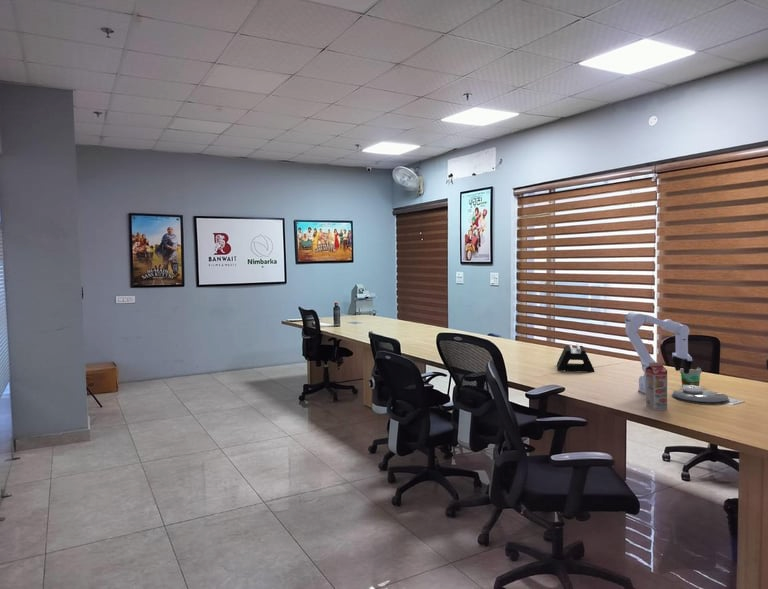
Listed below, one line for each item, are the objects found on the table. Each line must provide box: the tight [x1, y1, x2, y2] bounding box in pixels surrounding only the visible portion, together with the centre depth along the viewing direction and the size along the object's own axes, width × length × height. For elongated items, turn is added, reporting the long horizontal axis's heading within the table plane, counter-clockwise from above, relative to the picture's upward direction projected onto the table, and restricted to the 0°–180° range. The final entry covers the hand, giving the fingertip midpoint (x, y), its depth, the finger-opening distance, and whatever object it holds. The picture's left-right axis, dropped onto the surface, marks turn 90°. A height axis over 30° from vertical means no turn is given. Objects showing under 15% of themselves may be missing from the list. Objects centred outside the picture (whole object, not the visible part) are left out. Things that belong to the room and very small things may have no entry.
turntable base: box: [671, 393, 730, 406], centre depth 267 cm, size 25×25×1 cm
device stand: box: [556, 343, 595, 373], centre depth 352 cm, size 22×22×15 cm
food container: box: [679, 367, 703, 388], centre depth 291 cm, size 12×6×10 cm, turn 105°
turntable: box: [672, 388, 729, 403], centre depth 267 cm, size 24×24×1 cm
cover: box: [682, 385, 704, 394], centre depth 273 cm, size 9×9×3 cm
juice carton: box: [645, 361, 668, 411], centre depth 250 cm, size 7×7×22 cm
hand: (682, 372), depth 282 cm, fingers open, 7 cm apart
